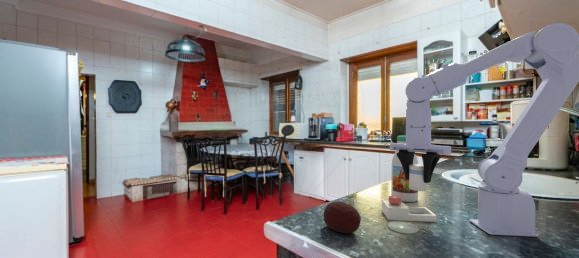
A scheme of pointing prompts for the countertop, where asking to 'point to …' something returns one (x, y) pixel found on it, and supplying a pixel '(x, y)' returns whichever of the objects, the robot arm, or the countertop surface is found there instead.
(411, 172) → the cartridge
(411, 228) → the pale green dome
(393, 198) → the plunger
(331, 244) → the countertop surface
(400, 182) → the milk bottle
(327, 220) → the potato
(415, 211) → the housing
